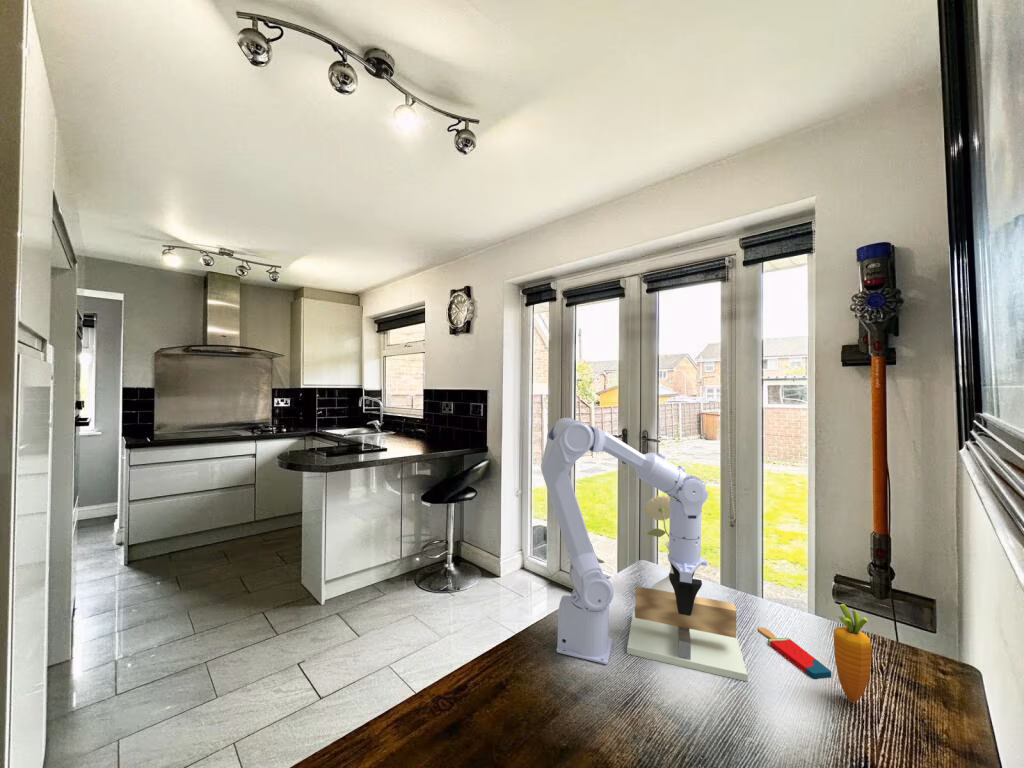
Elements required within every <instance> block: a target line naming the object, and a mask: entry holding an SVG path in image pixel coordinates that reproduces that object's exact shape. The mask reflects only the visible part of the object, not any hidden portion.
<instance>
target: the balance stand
mask: <svg viewBox="0 0 1024 768" xmlns="http://www.w3.org/2000/svg"><path fill="white" fill-rule="evenodd" d="M626 654H627V655H630V654H631V655H630V656H635V657H638V658H643V659H649V660H653V661H657V662H661V663H666V664H668V665H675V666H678V667H682V668H687V669H691V670H695V671H700V672H704V673H709V674H712V675H713V674H714V675H717V676H722V677H727V678H731V679H733V680H734V679H735V680H739V681H743V682H746V683H747V682H748V677H749V676H748V672H747V671H748V670H747V667H746V665H745V662H744V661H745V660H744V658H743V654H742V649H741V648H740V643H739V640H738V636H737V635H736V638H733V637H728V636H723V635H718V634H713V633H708V632H703V631H698V630H693V629H688V628H683V627H679V626H674V625H669V624H664V623H659V622H654V621H649V620H644V619H639V618H635V610H634V611H632V616H631V623H630V628H629V636H628V641H627V647H626Z"/></svg>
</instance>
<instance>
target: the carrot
mask: <svg viewBox="0 0 1024 768" xmlns="http://www.w3.org/2000/svg"><path fill="white" fill-rule="evenodd" d="M839 608H840V610H841V612H842V614H843V615H844V617H843V616H841V615H839V616H838V617H837V618H838V619H839V620H840V621H841V623H843V625H844V626H837V627H834V629H833V650H834V661H835V665H836V672H837V676H838V681H839V683H840V685H841V689H842V690H843V693H844V694H845V696H846V699H848V700H849V702H850V703H856V702H857V701H858V700H859V699H860V698H861V697H862V695H863V694H864V692H865V691H866V689H867V685H868V682H869V679H870V673H871V666H872V665H871V664H872V644H871V641H870V638H869V636H868V635H867V634H866V633H864V632H862V631H860V630H861V629H862V628H863V627H864V625H865V624H866V623H868V622H869V620H868V618H866V617H865V616H862V617H860V614H859V611H857V610H854V609H853V610H852V615H851V613H850V610H849V608H848V607H847V605H846V604H844V603H841V604H839ZM852 616H853V617H852Z"/></svg>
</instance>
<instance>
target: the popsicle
mask: <svg viewBox="0 0 1024 768" xmlns="http://www.w3.org/2000/svg"><path fill="white" fill-rule="evenodd" d="M757 630H758V632H759V633H760V634H762V635H763V636H765V637H766V638H768V639H767V645H769V646H770V648H772V649H774V650H775V651H776V652H778V653H779V654H780V655H781V656H782V657H784V658H785V659H787V661H789V662H790V663H792V664H793V665H794V666H795V667H797V668H798V669H799V670H800V671H802V672H803V673H804V674H805V675H807V676H808V677H809V678H811V679H812V680H818V679H831V678H832V671H831V670H830V669H829V668H828V667H827V666H825V665H824V664H823V663H821V662H820V660H818V659H816V658H815V657H814V656H813V655H811V654H810V653H808V652H807V650H805V649H803V648H802V647H801V646H799V645H798V644H797V643H796V642H795V641H793V640H792V639H791V638H789V637H777V636H776V635H775V634H774V633H773V632H771V631H770V630H769V629H768V628H765V627H764V626H763V627H758V628H757Z"/></svg>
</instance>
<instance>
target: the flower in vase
mask: <svg viewBox="0 0 1024 768" xmlns="http://www.w3.org/2000/svg"><path fill="white" fill-rule="evenodd" d="M643 509H644V511H645V513H646V516H647V517H648V518H650V519H654V521H662V522H663V528H664V530H663V529H661V528H658V527H657V528H652V529H650V530H649V531H648V532H647V534H646V535H649V536H653V537H656V538H661V537H663V536H664V535H665V534H666V535H667V537H668V538H669V532H668V531H667V529H666V521H665V520H668V519H670V497H669V496H668V495H667V496H666V495H661V496H660V495H656V496H655V497H651V498H650V499H649V500H648V501H647V502H646V505H644V507H643ZM664 545H665V547H666V548H667V550H668V551H669V540H668V541H665V542H664ZM669 571H670V572H669V573H672V574H674V572H673V569H672V566H671V565H670V570H669ZM650 589H656V590H661V591H667V592H673V593H675V592H674V589H673V586H672V584H671V582H670V580H669V574H668V575H667V576H666V577H665V578H663V579H661V580H659V581H657V582H655V584H653V585H652V586H651V588H650ZM696 597H701V595H700V594H699V592H697V594H696Z"/></svg>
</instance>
